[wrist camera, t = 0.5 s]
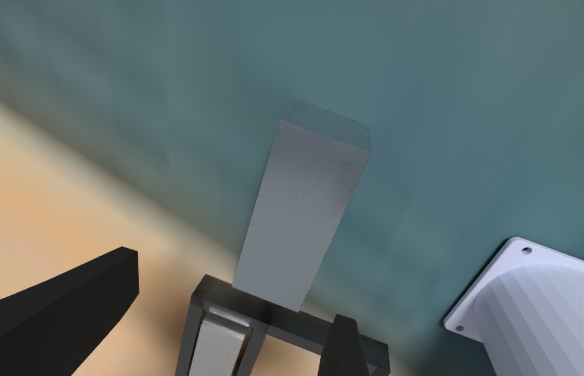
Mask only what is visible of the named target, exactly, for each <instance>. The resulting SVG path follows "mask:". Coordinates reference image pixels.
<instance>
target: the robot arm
mask: <svg viewBox="0 0 584 376" xmlns="http://www.w3.org/2000/svg"><path fill="white" fill-rule="evenodd" d="M526 247H528V249H527V250H524V251H522V249H523V248H526ZM138 294H139V273H138V251H135V250H132V249H129V248H126V247H123V246H122V247H120V248H117V249H115V250H113V251H110V252H108V253H106V254H104V255H102V256H99V257H97V258H95V259H93V260H91V261H89V262H87V263H84V264H82V265H80V266H78V267H76V268H73V269H71V270H69V271H67V272H65V273H62V274H60V275H58V276H56V277H54V278H51V279H49V280H47V281H44V282H42V283H40V284H37V285H35V286H32V287H30V288H27V289H25V290H23V291H20V292H18V293H15V294H13V295H11V296H8V297H6V298H3V299H0V376H71V375H72V374H73V373H74V372H75V371H76V370H77V368H78V367H79V366H80V365H81V364H82V363H83V362H84V361H85V359H86V358H87V357H88V356H89V355H90V354H91V353H92V352H93V351H94V349H95V348H96V347H97V346H98V345H99V344H100V343H101V342H102V340H103V339H104V338H105V337H106V336H107V335H108V334H109V332H110V331H111V330H112V329H113V328H114V327H115V326H116V324H117V323H118V322H119V321H120V320H121V318H122V317H123V316H124V314H125V313H126V312H127V310H128V309H129V307H130V306H131V304H132V303H133V302H134V300H135V299H136V297H137V296H138ZM444 325H445V328H446V329H448V330H450V331H453V332H455V333H458V334H460V335H463V336H466V337H468V338H471V339H473V340H476V341H479V342H481V343H483V344H484V346H485V349H486V351H487V353H488V356H489V358H490V361H491V363H492V365H493V368H494V370H495V373H496V375H497V376H584V261H583V260H580V259H577V258H575V257H572V256H569V255H567V254H564V253H561V252H558V251H556V250H553V249H550V248H547V247H545V246H542V245H539V244H537V243H534V242H531V241H528V240H526V239H523V238H519V237H514V238H511V239H509V240H508V241H507V242H506V243H505V245H504V246H503V247H502V248H501V250H500V251H499V252H498V253H497V255H496V256H495V257H494V258H493V260H492V261H491V262H490V263H489V264H488V266H487V267H486V268H485V269H484V271H483V272H482V273H481V274H480V276H479V277H478V278H477V279H476V281H475V282H474V283H473V284H472V286H471V287H470V288H469V289H468V291H467V292H466V293H465V294H464V295H463V297H462V298H461V299H460V300H459V302H458V303H457V304H456V305H455V307H454V308H453V309H452V310H451V312H450V313H449V314H448V315H447V317H446V318H445V319H444ZM457 326H460V327H457ZM318 376H370V373H369V370H368V366H367V363H366V359H365V356H364V352H363V348H362V344H361V340H360V336H359V331H358V326H357V322H356V321H355V319H351V318H348V317H345V316H342V315H339V314H336V317H335V319H334V322H333V325H332V327H331V330H330V332H329V335H328V337H327V340H326V343H325V345H324V348H323V350H322V353H321V359H320V364H319V370H318Z"/></svg>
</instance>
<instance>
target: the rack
mask: <svg viewBox="0 0 584 376" xmlns="http://www.w3.org/2000/svg"><path fill="white" fill-rule="evenodd" d="M332 325H333V324H332V323H330V322H327V321H325V320H322V319H320V318H317V317H314V316H312V315H309V314H307V313H304V312H302V311H299V312H296V311H293V310H290V309H288V308H285V307H283V306H280V305H277V304H275V303H272V302H270V301H267V300H265V299H262V298H259V297H257V296H254V295H252V294H249V293H246V292H244V291H241V290H239V289H236V288H233V287H232V284H229V283H227V282H224V281H222V280H219V279H217V278H214V277H211V276H209V275H206V274H205V276H204V277H203V279H202V280H201V282H200V283H199V285H198V286H197V288H196V289H195V291H194V292H193V294H192V296H191V301H190V306H189V311H188V316H187V320H186V325H185V330H184V335H183V339H182V344H181V349H180V354H179V358H178V363H177V368H176V373H175V376H232V373H233V370H234V367H235V365H236V362H237V359H238V356H239V354H240V351H241V348H242V345H243V342H244V340H245V337H246V334H247V331H248V329H249V327H250V328H252V329H253V332H252V334H251V337H250V340H249V342H248V345H247V348H246V350H245V353H244V356H243V358H242V361H241V364H240V366H239V369H238V372H237V374H236V376H249V375H250V373H251V370H252V368H253V366H254V363H255V361H256V358H257V356H258V353H259V351H260V348H261V346H262V344H263V341H264V339H265V336H266V334H268V335H270V336H273V337H275V338H278V339H280V340H283V341H285V342H288V343H291V344H293V345H296V346H298V347H301V348H303V349H306V350H308V351H311V352H313V353H316V354H318V355H321V353H322V350H323V348H324V345H325V343H326V340H327V337H328V335H329V332H330V330H331V327H332ZM359 336H360V340H361V344H362V348H363V352H364V356H365V359H366V363H367V366H368V370H369V373H370V376H388V375H389V374H390V363H389V352H388V345H386V344H384V343H381V342H379V341H376V340H374V339H371V338H368V337H366V336H363V335H361V334H359Z"/></svg>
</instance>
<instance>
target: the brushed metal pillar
mask: <svg viewBox="0 0 584 376" xmlns="http://www.w3.org/2000/svg"><path fill="white" fill-rule="evenodd" d="M370 155H371V145H370V136H369V128H368V125H367V124H364V123H361V122H359V121H356V120H353V119H350V118H347V117H345V116H342V115H339V114H336V113H333V112H331V111H328V110H325V109H322V108H319V107H317V106H314V105H311V104H308V103H305V102H303V101H299V102H298V103H297V104H296V105H295V106H294V107H293V108H292V109H291V110H289V111H288V112H287V113H286V114H285V115H284V116H283V117H282V118H281V119H280V121H279V125H278V128H277V132H276V135H275V139H274V142H273V145H272V149H271V152H270V156H269V159H268V163H267V166H266V170H265V173H264V177H263V180H262V183H261V187H260V190H259V194H258V197H257V201H256V204H255V208H254V211H253V215H252V218H251V221H250V225H249V228H248V232H247V235H246V239H245V242H244V246H243V249H242V253H241V256H240V260H239V263H238V266H237V270H236V273H235V277H234V280H233V284H232V287H233V288H236V289H239V290H241V291H244V292H246V293H249V294H252V295H254V296H257V297H259V298H262V299H265V300H267V301H270V302H272V303H275V304H277V305H280V306H283V307H285V308H288V309H290V310H293V311H296V312H299V310H300V307H301V305H302V303H303V301H304V299H305V297H306V294H307V292H308V290H309V288H310V286H311V283H312V281H313V279H314V277H315V275H316V272H317V270H318V268H319V266H320V264H321V262H322V259H323V257H324V255H325V253H326V251H327V248H328V246H329V244H330V242H331V240H332V238H333V235H334V233H335V231H336V229H337V227H338V224H339V222H340V220H341V218H342V216H343V214H344V211H345V209H346V207H347V205H348V203H349V200H350V198H351V196H352V194H353V192H354V190H355V187H356V185H357V183H358V181H359V179H360V176H361V174H362V172H363V170H364V168H365V166H366V163H367V161H368V159H369V157H370Z"/></svg>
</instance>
